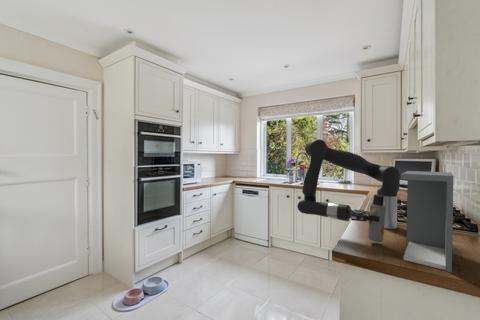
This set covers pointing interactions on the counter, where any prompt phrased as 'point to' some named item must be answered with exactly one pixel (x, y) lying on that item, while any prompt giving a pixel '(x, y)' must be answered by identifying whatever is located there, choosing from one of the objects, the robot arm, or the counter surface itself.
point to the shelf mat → (425, 255)
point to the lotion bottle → (375, 227)
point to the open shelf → (430, 210)
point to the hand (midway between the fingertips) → (379, 218)
